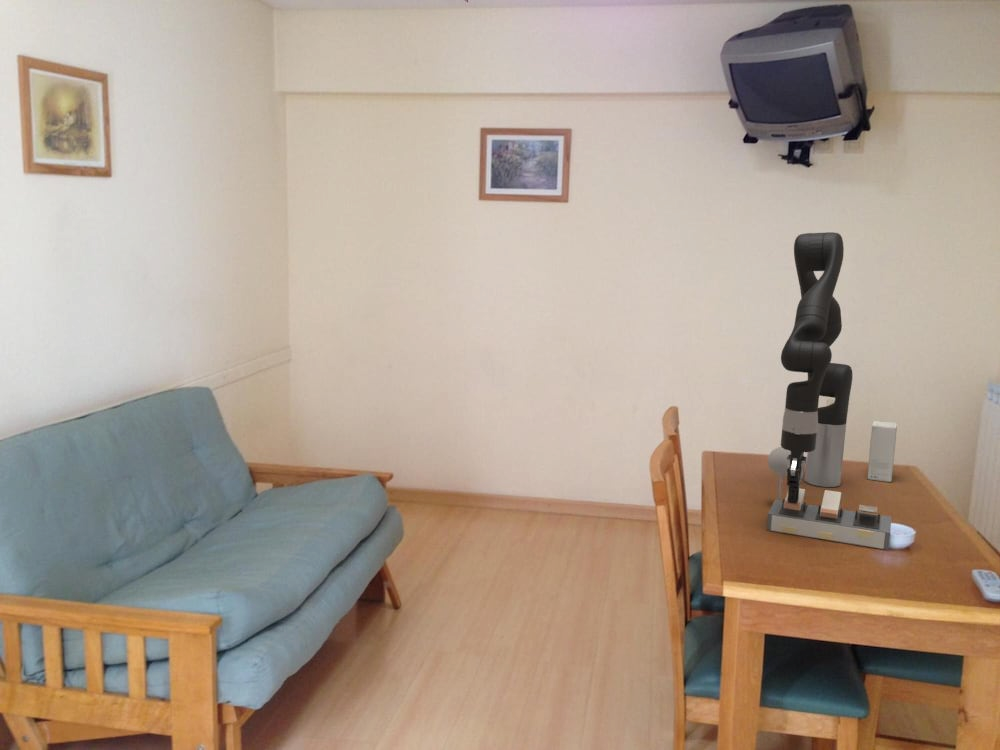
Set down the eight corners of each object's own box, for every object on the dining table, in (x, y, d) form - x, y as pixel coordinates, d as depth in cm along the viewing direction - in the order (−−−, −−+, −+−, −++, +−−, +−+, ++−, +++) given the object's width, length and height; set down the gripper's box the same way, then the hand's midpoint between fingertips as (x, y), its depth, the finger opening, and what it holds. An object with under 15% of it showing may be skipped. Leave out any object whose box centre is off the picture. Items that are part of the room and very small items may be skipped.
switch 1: (789, 491, 216) (789, 486, 215) (804, 493, 214) (805, 489, 214) (783, 508, 208) (783, 503, 208) (799, 510, 207) (800, 505, 206)
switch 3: (859, 511, 209) (860, 505, 210) (876, 513, 208) (877, 508, 208) (859, 509, 201) (859, 504, 201) (876, 512, 200) (877, 507, 200)
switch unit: (773, 515, 220) (775, 491, 219) (889, 533, 209) (892, 508, 208) (766, 530, 208) (768, 505, 207) (888, 550, 198) (891, 524, 197)
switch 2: (824, 494, 212) (824, 489, 212) (840, 496, 211) (841, 492, 210) (820, 516, 205) (820, 511, 204) (836, 518, 204) (837, 514, 203)
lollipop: (795, 510, 224) (800, 452, 221) (765, 508, 225) (770, 449, 222) (791, 502, 230) (797, 445, 228) (763, 499, 232) (767, 442, 229)
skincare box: (891, 483, 251) (897, 428, 248) (865, 479, 253) (871, 425, 251) (892, 475, 258) (898, 422, 255) (867, 472, 261) (873, 419, 258)
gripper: (786, 421, 212) (779, 492, 215) (778, 432, 201) (771, 507, 204) (819, 425, 209) (812, 497, 212) (813, 436, 198) (806, 512, 201)
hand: (792, 501), depth 208 cm, fingers closed
